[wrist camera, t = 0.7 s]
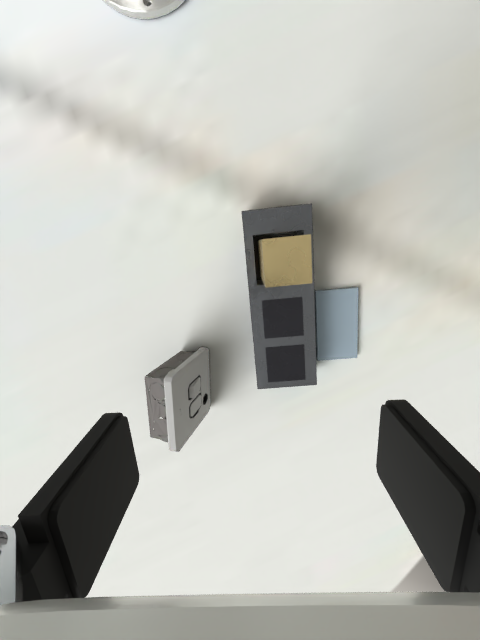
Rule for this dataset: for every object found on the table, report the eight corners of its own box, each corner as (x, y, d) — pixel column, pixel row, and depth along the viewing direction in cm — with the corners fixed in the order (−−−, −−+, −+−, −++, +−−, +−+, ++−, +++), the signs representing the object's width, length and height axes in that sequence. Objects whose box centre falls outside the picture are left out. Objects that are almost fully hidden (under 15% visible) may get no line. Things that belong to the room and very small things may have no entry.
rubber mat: (314, 290, 33) (316, 291, 33) (356, 287, 33) (358, 287, 32) (316, 358, 36) (317, 360, 35) (355, 355, 35) (357, 357, 35)
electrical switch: (211, 407, 38) (191, 457, 29) (175, 405, 39) (146, 452, 30) (209, 344, 36) (188, 377, 27) (171, 343, 36) (138, 374, 27)
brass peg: (257, 241, 32) (261, 239, 22) (291, 237, 32) (310, 234, 22) (260, 275, 33) (265, 287, 23) (293, 272, 33) (312, 283, 23)
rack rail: (242, 215, 31) (241, 211, 27) (303, 208, 31) (311, 203, 27) (256, 373, 36) (257, 389, 32) (309, 369, 36) (316, 384, 32)
